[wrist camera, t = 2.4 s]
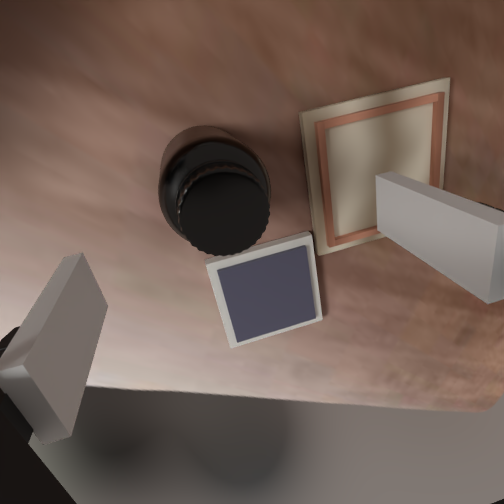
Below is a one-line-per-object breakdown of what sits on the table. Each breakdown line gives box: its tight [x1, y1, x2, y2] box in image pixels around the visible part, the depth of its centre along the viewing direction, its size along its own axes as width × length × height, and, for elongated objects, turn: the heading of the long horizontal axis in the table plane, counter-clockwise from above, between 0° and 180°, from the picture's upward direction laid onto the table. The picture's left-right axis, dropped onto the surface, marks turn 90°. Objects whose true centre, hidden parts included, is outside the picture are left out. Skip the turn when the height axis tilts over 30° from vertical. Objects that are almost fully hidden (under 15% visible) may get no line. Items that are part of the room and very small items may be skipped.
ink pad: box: [205, 231, 323, 348], centre depth 34 cm, size 10×10×1 cm
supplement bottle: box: [158, 126, 271, 256], centre depth 23 cm, size 7×7×12 cm
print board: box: [299, 78, 450, 256], centre depth 31 cm, size 13×13×1 cm
